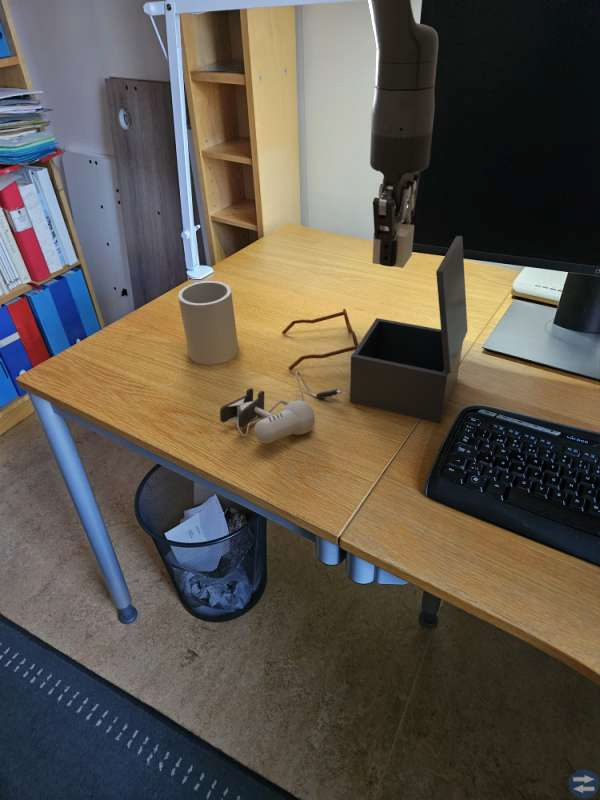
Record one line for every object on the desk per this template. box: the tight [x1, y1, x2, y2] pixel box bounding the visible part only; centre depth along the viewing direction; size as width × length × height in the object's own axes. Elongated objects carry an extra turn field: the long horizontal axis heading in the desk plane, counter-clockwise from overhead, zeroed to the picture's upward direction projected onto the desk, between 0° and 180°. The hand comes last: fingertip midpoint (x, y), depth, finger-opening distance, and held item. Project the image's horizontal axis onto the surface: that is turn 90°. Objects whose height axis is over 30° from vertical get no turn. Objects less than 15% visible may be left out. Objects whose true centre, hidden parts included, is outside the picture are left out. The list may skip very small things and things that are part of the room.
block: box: [371, 224, 415, 269], centre depth 78 cm, size 4×4×4 cm
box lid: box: [435, 235, 468, 373], centre depth 80 cm, size 15×13×1 cm
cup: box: [177, 280, 239, 366], centre depth 100 cm, size 9×9×12 cm
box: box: [349, 317, 464, 424], centre depth 89 cm, size 15×13×9 cm
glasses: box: [281, 308, 359, 371], centre depth 102 cm, size 13×13×5 cm
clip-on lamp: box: [219, 370, 343, 444], centre depth 85 cm, size 12×6×18 cm
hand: (393, 257), depth 79 cm, fingers closed on block, 4 cm apart
